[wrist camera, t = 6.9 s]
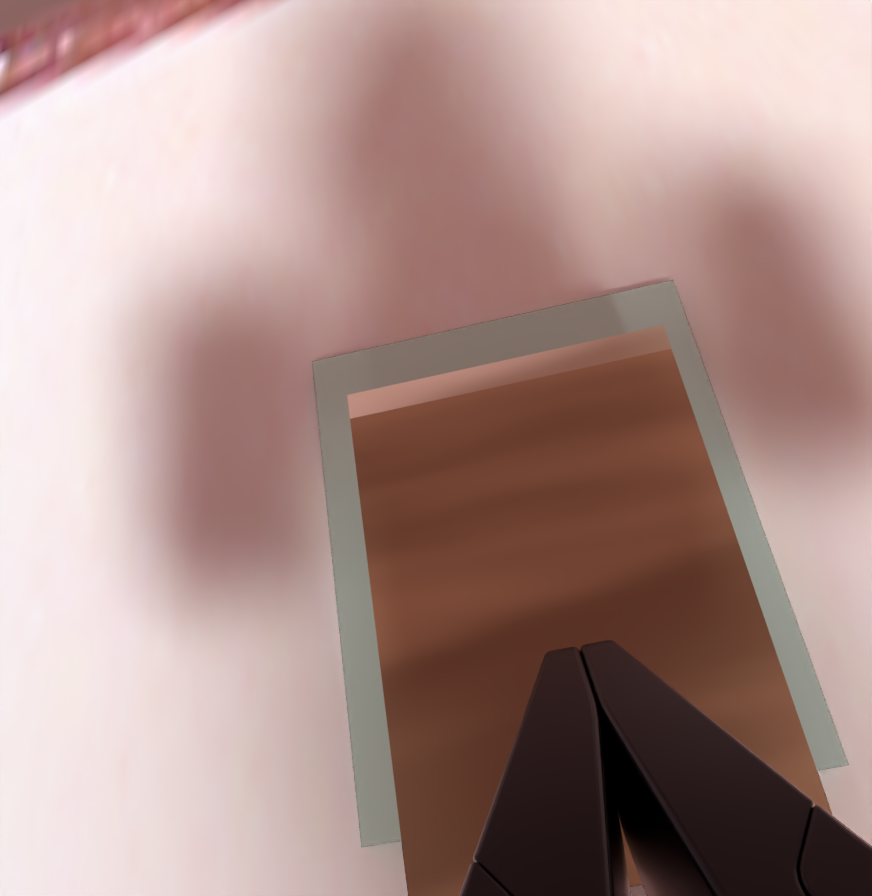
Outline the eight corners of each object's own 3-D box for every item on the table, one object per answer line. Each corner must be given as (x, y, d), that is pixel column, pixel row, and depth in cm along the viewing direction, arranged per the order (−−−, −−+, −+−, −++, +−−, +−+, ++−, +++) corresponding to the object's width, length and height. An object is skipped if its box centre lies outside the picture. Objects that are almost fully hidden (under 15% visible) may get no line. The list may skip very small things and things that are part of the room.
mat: (843, 765, 15) (848, 765, 14) (365, 845, 16) (361, 847, 15) (671, 286, 20) (672, 279, 19) (315, 366, 20) (312, 361, 20)
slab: (845, 853, 11) (662, 324, 16) (411, 922, 12) (347, 395, 16) (791, 835, 14) (648, 390, 18) (439, 891, 15) (378, 447, 19)
